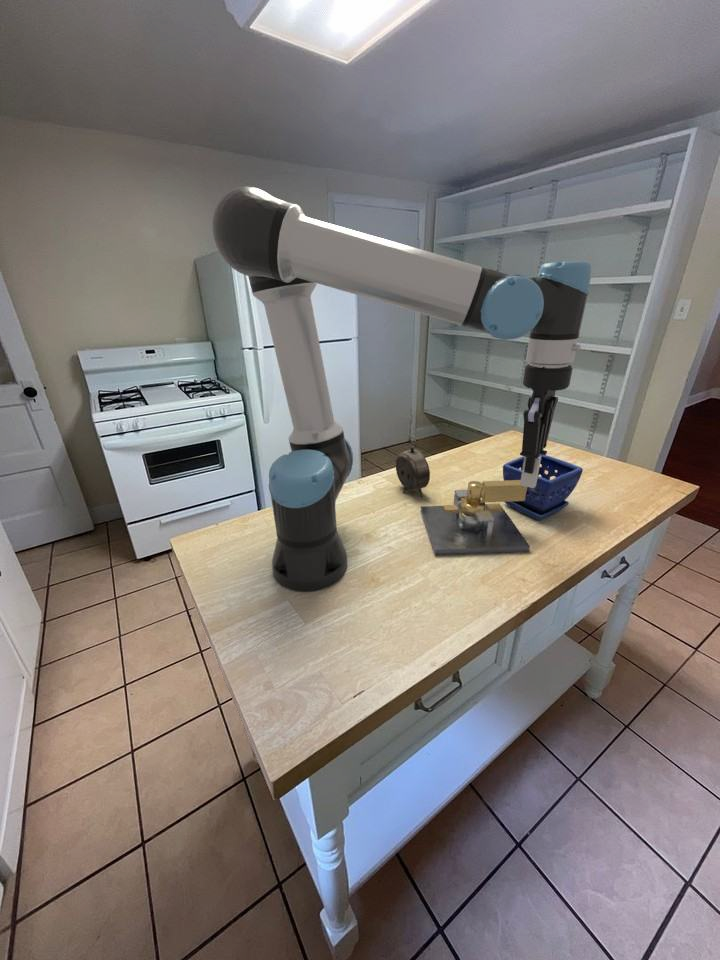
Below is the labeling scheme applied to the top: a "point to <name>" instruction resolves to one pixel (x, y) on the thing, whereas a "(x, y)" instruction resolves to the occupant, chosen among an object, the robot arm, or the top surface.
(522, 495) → the lever handle
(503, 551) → the socket
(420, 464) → the alarm clock
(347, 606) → the top surface
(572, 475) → the flower pot
